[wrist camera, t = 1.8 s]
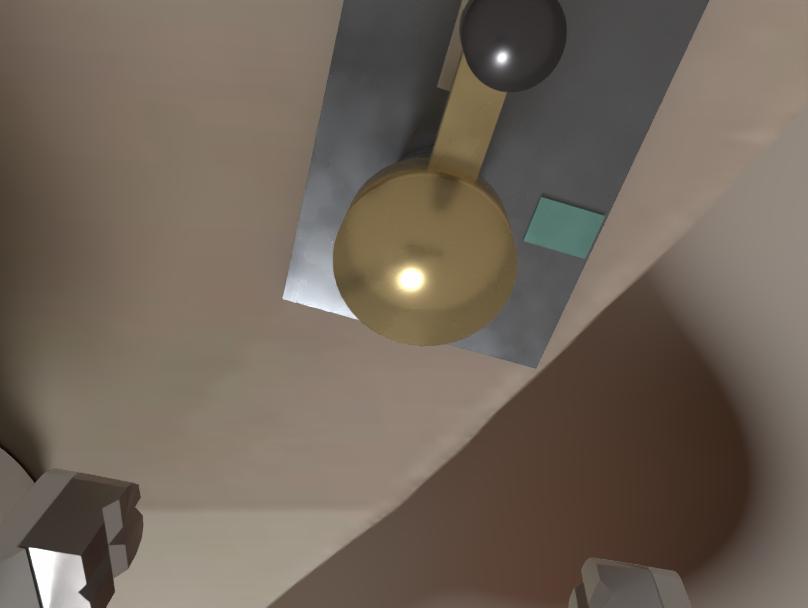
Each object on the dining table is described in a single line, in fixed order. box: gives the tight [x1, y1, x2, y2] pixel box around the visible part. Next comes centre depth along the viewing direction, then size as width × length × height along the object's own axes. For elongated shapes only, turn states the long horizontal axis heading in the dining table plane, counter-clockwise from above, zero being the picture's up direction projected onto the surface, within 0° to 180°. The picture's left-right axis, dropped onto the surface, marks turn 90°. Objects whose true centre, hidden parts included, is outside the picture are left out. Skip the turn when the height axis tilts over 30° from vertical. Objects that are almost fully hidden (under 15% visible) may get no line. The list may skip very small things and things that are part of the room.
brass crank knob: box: [333, 0, 567, 346], centre depth 20 cm, size 13×7×7 cm, turn 164°
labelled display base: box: [283, 0, 709, 368], centre depth 28 cm, size 22×16×8 cm
